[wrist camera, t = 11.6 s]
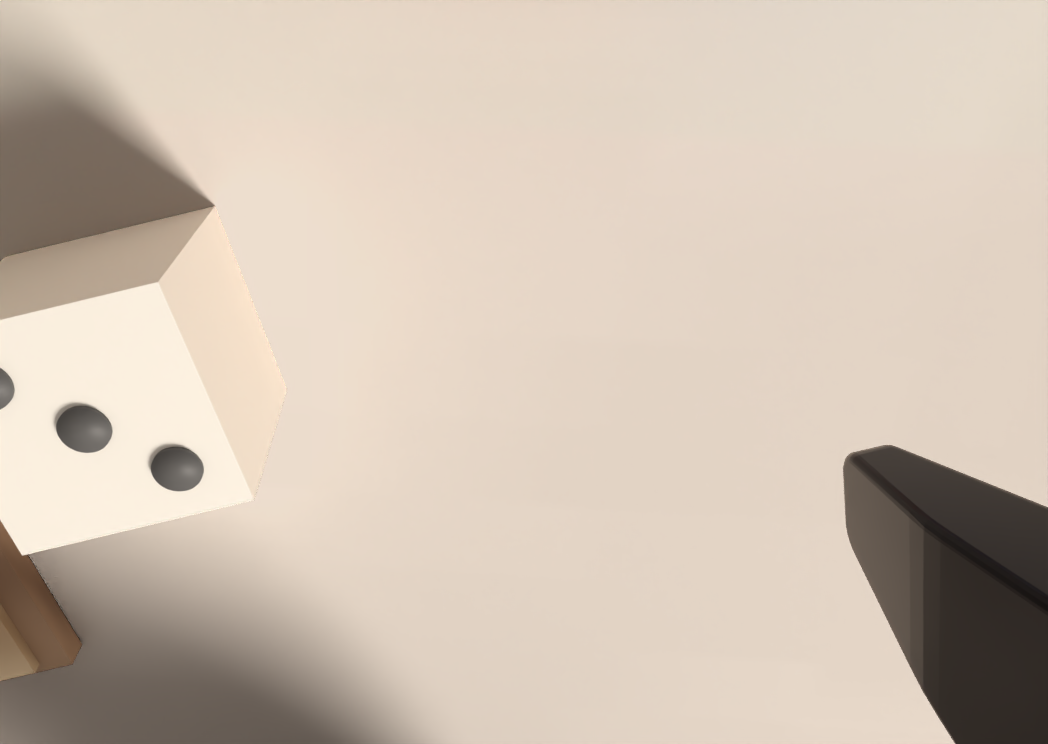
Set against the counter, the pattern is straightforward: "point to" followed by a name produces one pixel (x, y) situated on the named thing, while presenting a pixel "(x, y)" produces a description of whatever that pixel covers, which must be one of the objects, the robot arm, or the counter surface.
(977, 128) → the counter surface
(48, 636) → the game board
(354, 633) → the counter surface
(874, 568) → the robot arm
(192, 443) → the die
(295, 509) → the counter surface
